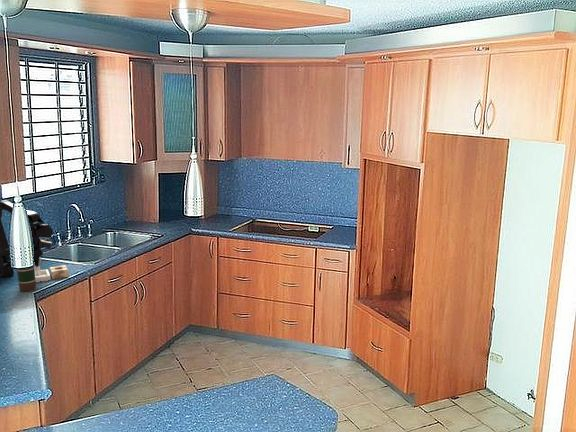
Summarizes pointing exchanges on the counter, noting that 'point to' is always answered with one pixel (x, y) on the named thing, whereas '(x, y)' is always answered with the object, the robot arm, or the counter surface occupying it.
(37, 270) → the steel pin
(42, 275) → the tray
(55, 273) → the hitch block
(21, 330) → the counter surface
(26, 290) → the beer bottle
